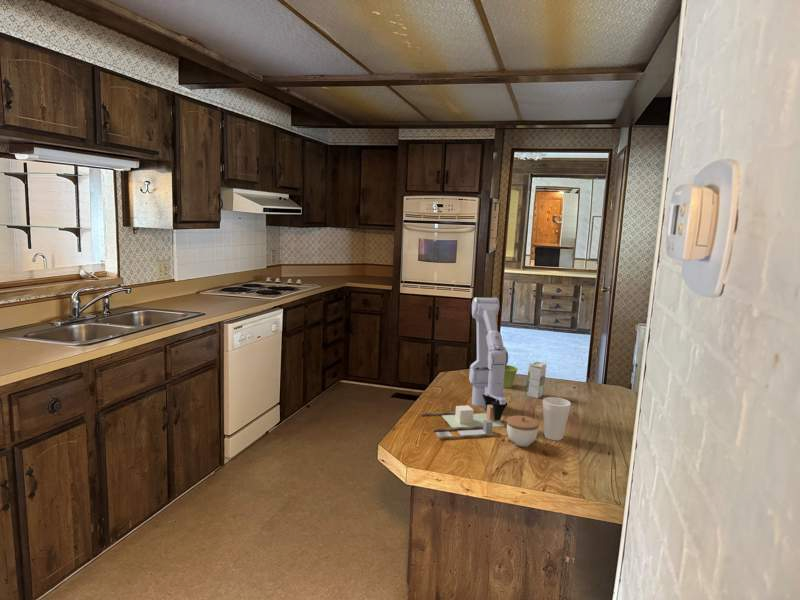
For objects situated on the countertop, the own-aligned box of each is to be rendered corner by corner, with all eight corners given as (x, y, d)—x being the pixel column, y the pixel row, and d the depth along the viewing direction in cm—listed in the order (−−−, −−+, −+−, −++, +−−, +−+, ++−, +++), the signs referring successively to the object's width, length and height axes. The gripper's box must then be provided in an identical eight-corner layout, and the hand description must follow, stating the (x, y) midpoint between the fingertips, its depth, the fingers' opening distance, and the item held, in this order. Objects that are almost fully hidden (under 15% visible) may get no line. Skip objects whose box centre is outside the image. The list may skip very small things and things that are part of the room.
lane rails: (472, 415, 213) (472, 410, 213) (497, 439, 191) (497, 434, 191) (420, 417, 208) (420, 413, 208) (439, 443, 186) (439, 438, 186)
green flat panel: (490, 414, 213) (491, 399, 212) (505, 427, 201) (506, 412, 200) (441, 417, 208) (442, 402, 207) (453, 431, 196) (454, 414, 195)
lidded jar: (540, 440, 192) (542, 414, 190) (533, 452, 182) (536, 425, 181) (509, 434, 196) (511, 408, 195) (501, 445, 186) (503, 418, 185)
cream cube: (467, 418, 207) (468, 405, 206) (472, 423, 202) (473, 410, 201) (455, 418, 205) (455, 405, 205) (459, 423, 201) (460, 410, 200)
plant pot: (518, 385, 253) (519, 366, 252) (513, 390, 245) (515, 371, 243) (498, 381, 257) (499, 363, 256) (493, 387, 249) (494, 368, 247)
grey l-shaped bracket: (488, 431, 197) (489, 418, 196) (494, 436, 192) (495, 423, 192) (456, 433, 194) (457, 420, 193) (461, 438, 189) (462, 425, 189)
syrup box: (530, 392, 243) (533, 360, 241) (543, 395, 240) (546, 363, 238) (525, 395, 239) (528, 363, 236) (538, 399, 235) (541, 366, 233)
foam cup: (552, 443, 189) (555, 407, 187) (534, 433, 197) (537, 398, 195) (573, 439, 194) (576, 404, 192) (554, 430, 202) (557, 395, 200)
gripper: (478, 375, 210) (476, 410, 212) (494, 388, 196) (491, 424, 198) (495, 375, 212) (493, 409, 214) (512, 387, 198) (509, 423, 200)
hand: (493, 416), depth 206 cm, fingers open, 6 cm apart
